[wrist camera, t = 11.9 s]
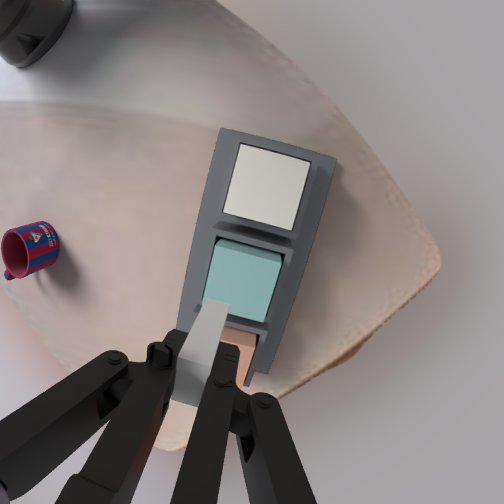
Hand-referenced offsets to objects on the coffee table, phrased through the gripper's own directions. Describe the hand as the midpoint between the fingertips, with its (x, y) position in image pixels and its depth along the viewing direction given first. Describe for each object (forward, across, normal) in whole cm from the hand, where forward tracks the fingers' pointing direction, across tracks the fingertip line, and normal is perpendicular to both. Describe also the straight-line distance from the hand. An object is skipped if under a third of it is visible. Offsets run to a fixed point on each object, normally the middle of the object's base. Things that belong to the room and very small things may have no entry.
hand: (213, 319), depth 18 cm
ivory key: (+14, +1, +8) cm, 16 cm away
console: (+17, +1, -1) cm, 17 cm away
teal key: (+14, +1, -1) cm, 14 cm away
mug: (+17, -30, -8) cm, 35 cm away
